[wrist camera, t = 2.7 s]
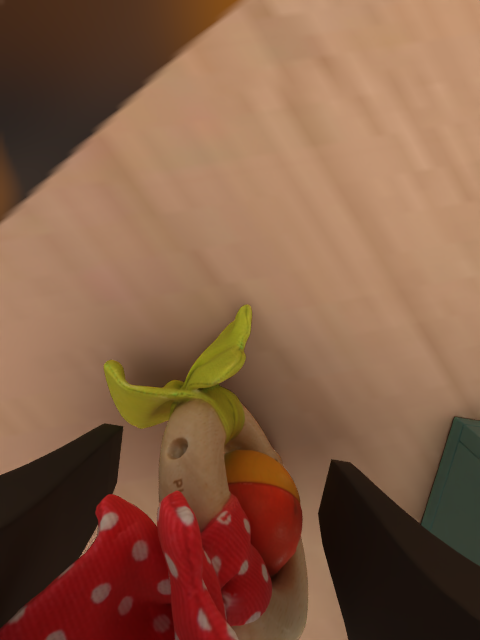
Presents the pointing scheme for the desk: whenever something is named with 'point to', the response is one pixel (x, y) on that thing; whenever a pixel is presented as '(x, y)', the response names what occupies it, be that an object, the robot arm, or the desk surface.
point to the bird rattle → (188, 526)
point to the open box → (458, 491)
